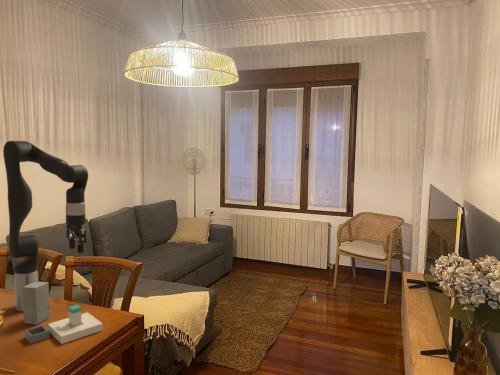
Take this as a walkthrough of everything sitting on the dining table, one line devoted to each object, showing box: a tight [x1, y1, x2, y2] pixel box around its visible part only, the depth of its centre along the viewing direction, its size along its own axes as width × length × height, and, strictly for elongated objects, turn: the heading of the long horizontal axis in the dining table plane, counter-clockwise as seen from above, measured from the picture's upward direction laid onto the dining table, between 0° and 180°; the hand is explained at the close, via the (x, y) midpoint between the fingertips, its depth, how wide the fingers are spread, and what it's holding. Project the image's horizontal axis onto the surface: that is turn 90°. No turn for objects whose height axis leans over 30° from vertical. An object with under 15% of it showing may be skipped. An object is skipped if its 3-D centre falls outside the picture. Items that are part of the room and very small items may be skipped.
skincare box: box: [22, 281, 51, 326], centre depth 165 cm, size 8×7×16 cm
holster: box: [24, 324, 50, 345], centre depth 152 cm, size 7×7×3 cm
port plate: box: [47, 312, 103, 345], centre depth 158 cm, size 14×16×3 cm
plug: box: [68, 304, 82, 328], centre depth 158 cm, size 4×4×10 cm
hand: (76, 250), depth 165 cm, fingers open, 8 cm apart
